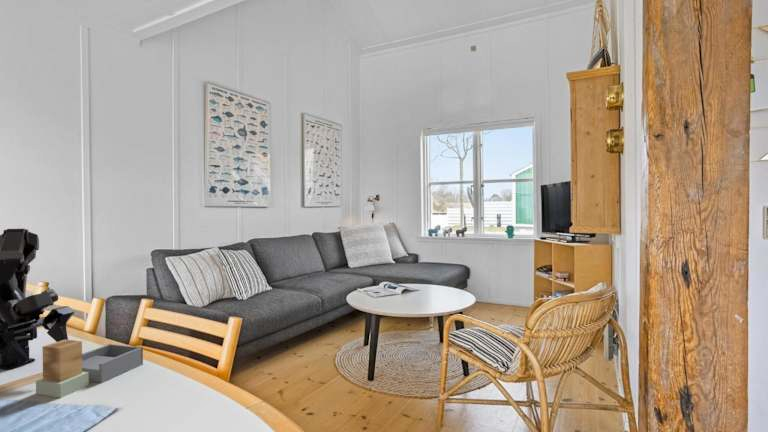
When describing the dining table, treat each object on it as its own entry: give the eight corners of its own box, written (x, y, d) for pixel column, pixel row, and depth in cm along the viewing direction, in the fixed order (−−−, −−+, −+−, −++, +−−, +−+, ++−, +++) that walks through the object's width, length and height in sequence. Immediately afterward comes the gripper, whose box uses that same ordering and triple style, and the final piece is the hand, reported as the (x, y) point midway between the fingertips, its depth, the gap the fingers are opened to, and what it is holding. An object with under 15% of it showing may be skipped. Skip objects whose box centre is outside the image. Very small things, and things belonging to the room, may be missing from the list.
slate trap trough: (65, 378, 99) (65, 359, 99) (109, 360, 111) (109, 343, 110) (102, 382, 96) (101, 364, 96) (142, 364, 108) (142, 347, 108)
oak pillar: (42, 379, 91) (42, 346, 91) (65, 371, 96) (64, 339, 96) (60, 382, 90) (60, 348, 90) (82, 373, 95) (81, 341, 94)
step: (35, 394, 90) (35, 380, 90) (64, 382, 97) (64, 369, 97) (60, 397, 89) (60, 384, 89) (88, 385, 95) (88, 372, 95)
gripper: (-19, 288, 86) (23, 344, 83) (68, 274, 104) (104, 320, 102) (-46, 322, 88) (-6, 378, 85) (44, 302, 106) (78, 348, 104)
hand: (47, 353), depth 94 cm, fingers open, 9 cm apart
